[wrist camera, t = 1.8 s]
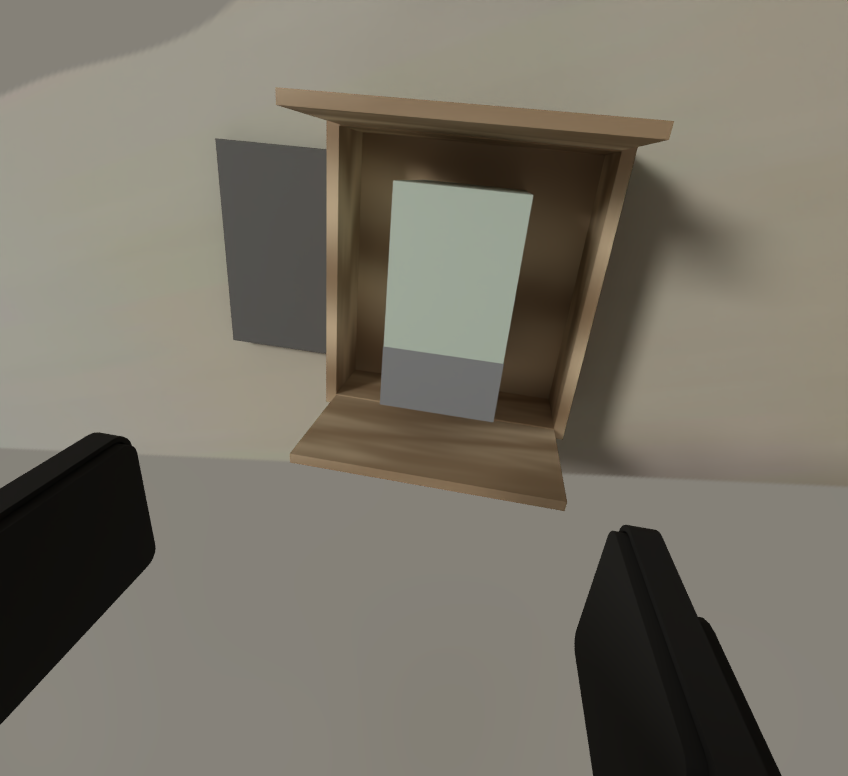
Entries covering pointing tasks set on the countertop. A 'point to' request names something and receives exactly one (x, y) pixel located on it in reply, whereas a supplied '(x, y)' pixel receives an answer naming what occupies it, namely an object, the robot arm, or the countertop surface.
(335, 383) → the wooden crate
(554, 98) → the countertop surface
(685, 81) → the countertop surface
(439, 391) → the capped box
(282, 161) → the rubber mat
